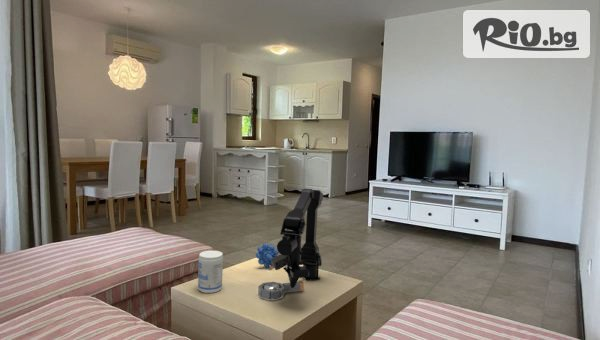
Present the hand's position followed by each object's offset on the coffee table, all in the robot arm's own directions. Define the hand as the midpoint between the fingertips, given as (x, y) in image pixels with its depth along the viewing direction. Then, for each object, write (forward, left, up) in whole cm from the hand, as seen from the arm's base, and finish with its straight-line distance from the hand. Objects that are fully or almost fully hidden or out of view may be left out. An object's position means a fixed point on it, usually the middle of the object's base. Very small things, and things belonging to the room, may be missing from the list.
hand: (292, 287), depth 144 cm
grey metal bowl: (+7, -6, -5) cm, 10 cm away
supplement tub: (+29, -19, -5) cm, 35 cm away
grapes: (0, -36, -5) cm, 36 cm away
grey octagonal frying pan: (+2, -6, -4) cm, 7 cm away
